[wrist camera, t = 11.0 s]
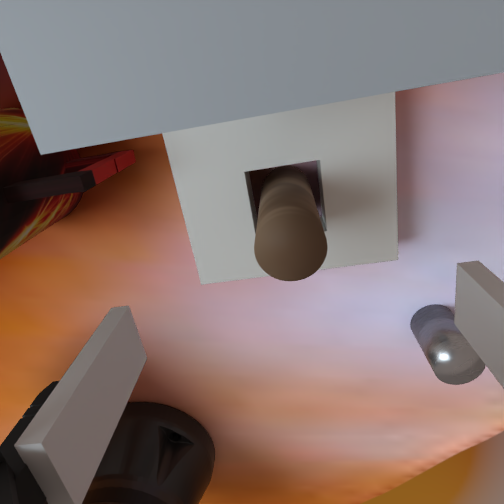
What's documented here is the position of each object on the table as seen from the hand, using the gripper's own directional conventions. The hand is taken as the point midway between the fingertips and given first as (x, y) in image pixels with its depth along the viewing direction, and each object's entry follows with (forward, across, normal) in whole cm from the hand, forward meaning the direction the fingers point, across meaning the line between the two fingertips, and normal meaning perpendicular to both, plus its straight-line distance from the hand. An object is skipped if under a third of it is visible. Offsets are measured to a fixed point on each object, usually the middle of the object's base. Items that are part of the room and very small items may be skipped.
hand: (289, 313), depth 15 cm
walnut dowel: (+18, 0, 0) cm, 18 cm away
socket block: (+18, 0, +4) cm, 19 cm away
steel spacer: (+18, +12, -15) cm, 26 cm away
